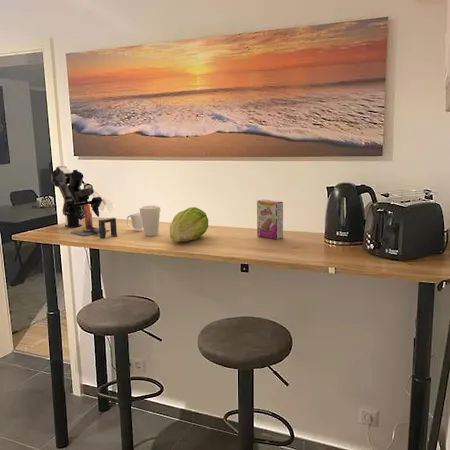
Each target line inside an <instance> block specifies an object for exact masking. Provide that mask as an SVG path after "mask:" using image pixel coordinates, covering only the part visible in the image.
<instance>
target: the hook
mask: <svg viewBox="0 0 450 450" xmlns="http://www.w3.org/2000/svg"><path fill="white" fill-rule="evenodd" d="M83 212H84V213H83V214H84V224H85V225H84V226H85V227H84V228H82V230H83V232H94V233H97V234H99V227H97V228H95V227H94V225H93V215H92V214H93V210H92V207H91V204H84V206H83ZM106 230H107V229H106V227H105V235H106V234H107V232H106ZM99 235H100V234H99Z"/></svg>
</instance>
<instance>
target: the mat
mask: <svg viewBox="0 0 450 450" xmlns="http://www.w3.org/2000/svg"><path fill="white" fill-rule="evenodd" d="M95 228H98V227H95ZM107 232H110V230H109V229H106V233H107ZM70 234H74V235H78V236H81V237H86V236H91V235H96V234H98V233H94V232H83V229H79V230H75V231H74V230H73V231H70Z"/></svg>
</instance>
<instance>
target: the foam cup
mask: <svg viewBox="0 0 450 450" xmlns="http://www.w3.org/2000/svg"><path fill="white" fill-rule="evenodd" d="M139 213H141V219H142V224H143V228H142V229H143V233H144V236H146V237H147V236H148V237H151V236H152V237H154V236H157V235H159V229H160V216H161V206H160V205H156V204H155V205H154V204H149V205H142V206H139Z"/></svg>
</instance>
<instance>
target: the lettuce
mask: <svg viewBox="0 0 450 450" xmlns="http://www.w3.org/2000/svg"><path fill="white" fill-rule="evenodd" d="M208 228H209V218H208V216H207V213H206V212H205V211H204V210H202V209H200V208H198V207H195V206H193V207H188V208H186V209H184V210H182V211H179V212H178V213H177V214H176V215H175V216H174V217H173V219H172V220H171V223H170V225H169V237H170V239H171V241H173V242H189V241H195V240H197V239H199V238H201V237H202V236H203V235H204V234H205V233H206V232H207V230H208Z"/></svg>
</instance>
